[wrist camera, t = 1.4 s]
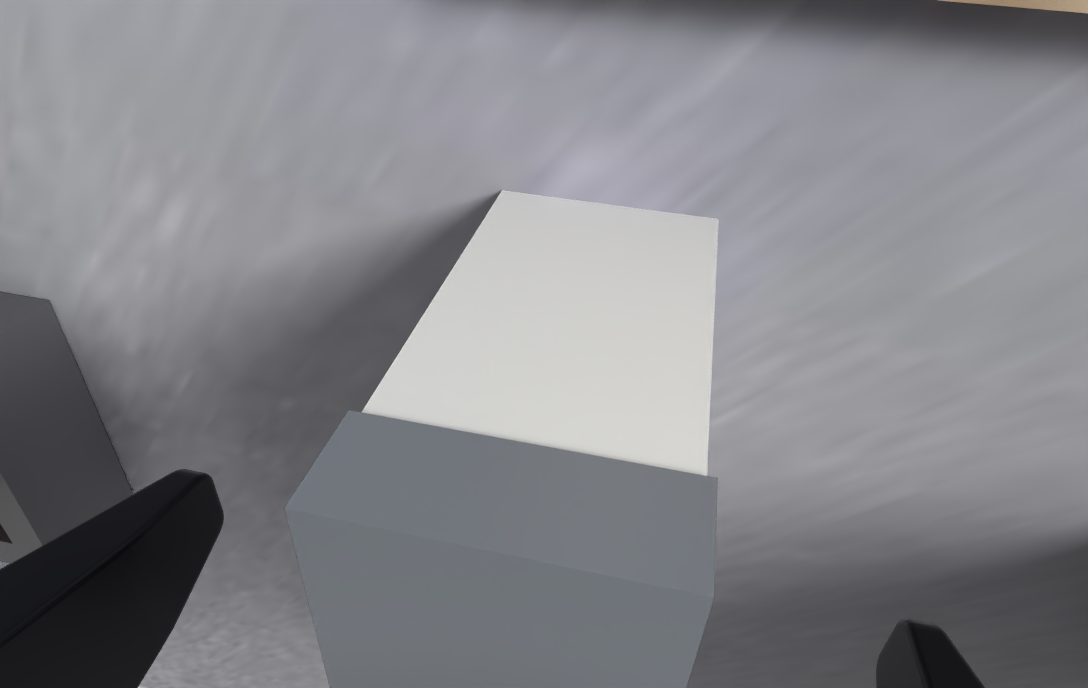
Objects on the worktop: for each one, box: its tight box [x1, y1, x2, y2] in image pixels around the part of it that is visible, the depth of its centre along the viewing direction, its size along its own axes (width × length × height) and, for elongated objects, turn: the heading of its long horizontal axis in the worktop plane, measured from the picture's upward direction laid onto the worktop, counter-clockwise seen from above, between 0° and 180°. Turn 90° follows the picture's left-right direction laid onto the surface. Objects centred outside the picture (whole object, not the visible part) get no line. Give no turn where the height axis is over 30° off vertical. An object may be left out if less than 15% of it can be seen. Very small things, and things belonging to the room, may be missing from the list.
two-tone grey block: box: [284, 190, 719, 688], centre depth 11 cm, size 4×4×8 cm
